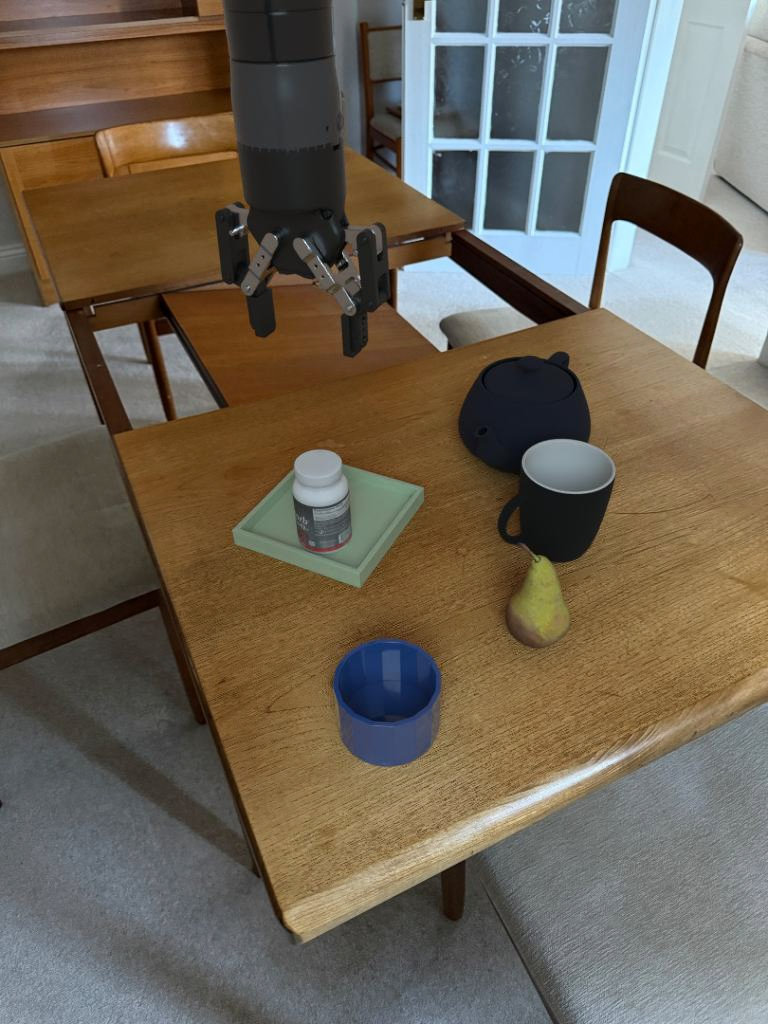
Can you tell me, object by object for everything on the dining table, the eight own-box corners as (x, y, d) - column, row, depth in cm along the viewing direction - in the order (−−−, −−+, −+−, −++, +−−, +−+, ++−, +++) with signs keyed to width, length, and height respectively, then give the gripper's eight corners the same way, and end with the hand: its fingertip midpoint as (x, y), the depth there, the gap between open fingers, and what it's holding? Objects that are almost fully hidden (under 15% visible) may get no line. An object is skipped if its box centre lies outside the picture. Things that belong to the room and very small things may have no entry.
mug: (563, 505, 82) (576, 429, 76) (617, 554, 76) (636, 475, 70) (471, 540, 78) (476, 462, 72) (520, 594, 72) (531, 514, 66)
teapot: (503, 390, 102) (511, 306, 94) (614, 422, 95) (632, 334, 87) (410, 487, 86) (410, 395, 78) (536, 532, 79) (549, 437, 71)
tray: (360, 588, 73) (359, 574, 72) (234, 544, 79) (231, 530, 77) (424, 501, 84) (424, 487, 82) (309, 467, 89) (307, 453, 88)
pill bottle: (292, 527, 80) (282, 452, 73) (343, 515, 81) (337, 440, 75) (306, 562, 76) (296, 485, 69) (359, 549, 77) (354, 472, 71)
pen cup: (412, 783, 57) (412, 743, 54) (319, 741, 60) (313, 700, 57) (455, 701, 63) (457, 660, 59) (367, 666, 66) (365, 625, 62)
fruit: (553, 670, 65) (572, 572, 57) (493, 644, 67) (503, 547, 60) (575, 628, 69) (596, 531, 61) (518, 605, 71) (530, 509, 63)
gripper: (174, 133, 52) (213, 346, 62) (353, 153, 47) (363, 381, 57) (237, 112, 57) (263, 311, 67) (404, 127, 52) (405, 341, 62)
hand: (309, 343), depth 62 cm, fingers open, 8 cm apart
